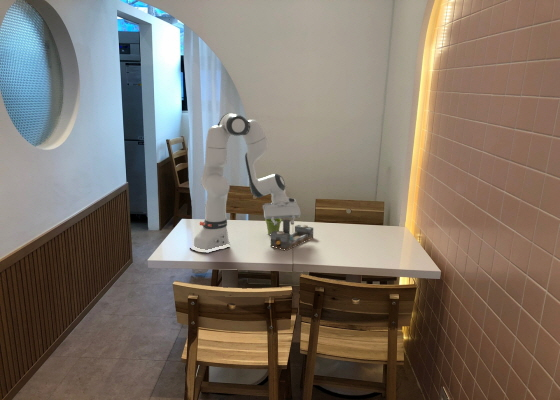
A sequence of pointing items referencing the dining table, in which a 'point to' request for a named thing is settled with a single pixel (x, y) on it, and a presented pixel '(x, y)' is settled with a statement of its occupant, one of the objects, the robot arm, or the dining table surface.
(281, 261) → the dining table surface
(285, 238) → the grey long blocky piece
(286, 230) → the carriage
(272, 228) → the plant pot
